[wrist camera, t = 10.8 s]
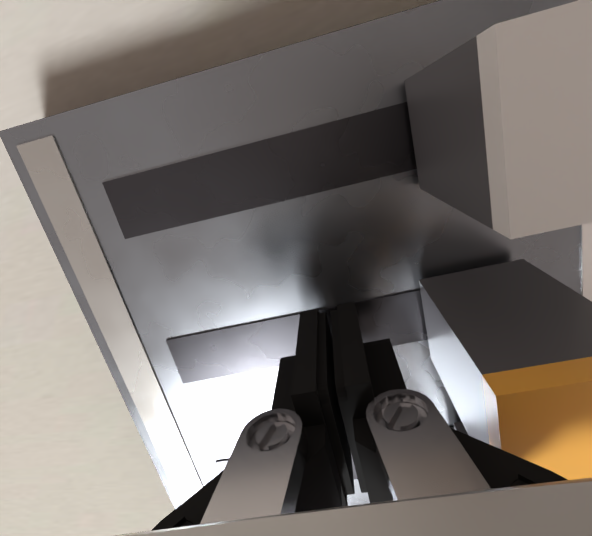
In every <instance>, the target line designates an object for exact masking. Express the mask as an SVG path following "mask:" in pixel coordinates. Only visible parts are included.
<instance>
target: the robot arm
mask: <svg viewBox="0 0 592 536" xmlns="http://www.w3.org/2000/svg"><path fill="white" fill-rule="evenodd" d="M331 323H332V335H331V331H330V327H329V323H328V318H327V315H326V312H322V313H319V310H318V309H313V310H308V311H303V312H300V318H299V327H298V336H297V345H296V353H295V355H294V356H288V357H282V358H281V359H280V363H279V369H278V374H277V380H276V385H275V391H274V397H273V402H272V408H271V410H268V411H265V412H263V413H260V414H259V415H257V416H255V417H254V418H252V419H251V420H250V421H249V422H248V423H247V424H246V425H245V426H244V428H243V430H242V431H241V433H240V435H239V437H238V440H237V442H236V444H235V446H234V449H233V451H232V453H231V455H230V458H229V460H228V462H227V464H226V467H225V469H224V470H223V471H222V472H220V473H219V474H218V475H217V476H216V477H214V478H213V479H212V480H211V481H209V482H208V483H207V484H206V485H204V486H203V487H202V488H201V489H200V490H198V491H197V492H196V493H195V494H193V495H192V496H191V497H190V498H189V499H187V500H186V501H185V502H184V503H182V504H181V505H180V506H179V507H177V508H176V509H175V510H174V511H173V512H171V513H170V514H169V515H168V516H166V517H165V518H164V519H163V520H162V521H160V522H159V523H158V524H157V525H156V526H155V527H154V528H153V529H152V530H151V531H145V532H138V533H130V534H122V535H115V536H592V477H591V478H582V479H574V480H567V479H565V478H564V477H562V476H560V475H558V474H556V473H554V472H553V471H550V470H548V469H546V468H543V467H541V466H539V465H536V464H534V463H532V462H529V461H527V460H525V459H522V458H520V457H518V456H515V455H513V454H511V453H508V452H506V451H504V450H501V449H499V448H497V447H494V446H492V445H490V444H487V443H485V442H483V441H480V440H478V439H476V438H473V437H471V436H469V435H466V434H464V433H462V432H459V431H457V430H455V429H452V428H450V427H449V425H448V424H447V422H446V421H445V419H444V418H443V416H442V415H441V413H440V412H439V410H438V409H437V407H436V406H435V404H434V403H433V402H432V401H431V400H430V399H429V398H428V397H427V396H426V395H424V394H422V393H420V392H417V391H414V390H410V389H407V388H406V385H405V382H404V379H403V376H402V373H401V370H400V368H399V365H398V362H397V359H396V356H395V353H394V350H393V347H392V344H391V341H390V339H389V338H388V339H383V340H377V341H371V342H366V343H363V339H362V335H361V330H360V325H359V321H358V316H357V311H356V307H355V302H349V303H344V304H339V305H337V310H333V311H331ZM351 454H352V457H351ZM352 458H353V462H354V466H355V470H356V474H357V478H358V482H359V486H360V490H361V493H367V492H368V497H369V501H370V503H367V504H359V505H351V506H348V502H347V495H351V494H355V488H354V478H353V468H352Z"/></svg>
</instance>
